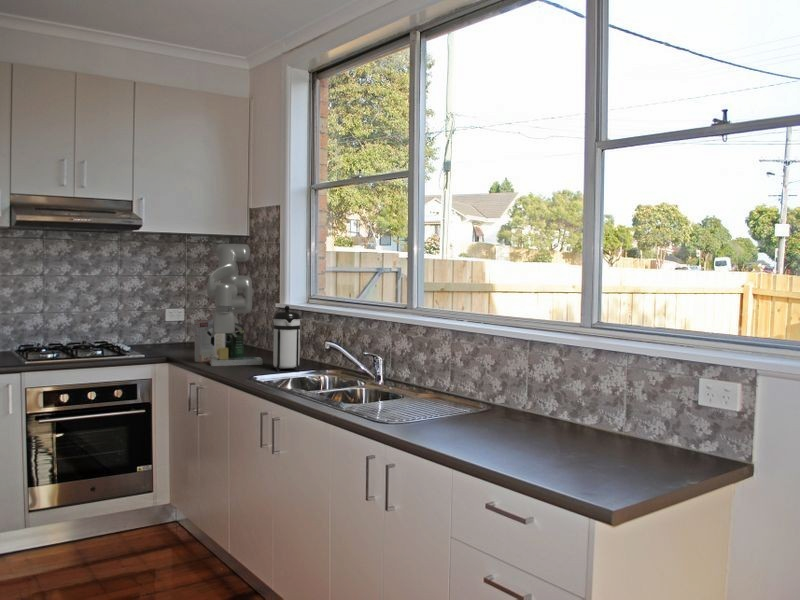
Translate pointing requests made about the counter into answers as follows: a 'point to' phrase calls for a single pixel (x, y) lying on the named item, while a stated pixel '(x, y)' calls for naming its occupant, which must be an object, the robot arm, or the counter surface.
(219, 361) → the rail
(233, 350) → the coffee jar
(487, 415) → the counter surface
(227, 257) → the robot arm
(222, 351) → the brass post
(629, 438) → the counter surface
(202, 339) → the cracker box
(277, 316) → the coffee press
